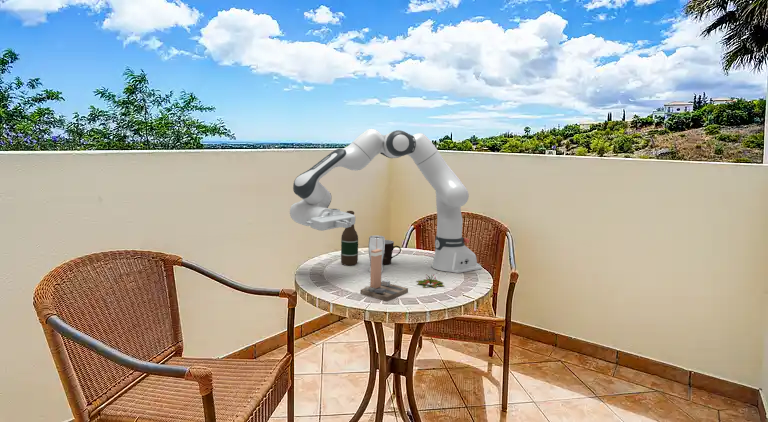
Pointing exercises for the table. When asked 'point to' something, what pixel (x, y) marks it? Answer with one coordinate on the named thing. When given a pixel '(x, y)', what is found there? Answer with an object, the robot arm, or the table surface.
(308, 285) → the table surface
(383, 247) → the beer glass
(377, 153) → the robot arm
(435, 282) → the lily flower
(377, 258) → the terracotta paddle
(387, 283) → the grey fader knob
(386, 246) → the coffee mug
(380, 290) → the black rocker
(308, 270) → the table surface
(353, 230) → the beer bottle
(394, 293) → the walnut control box
